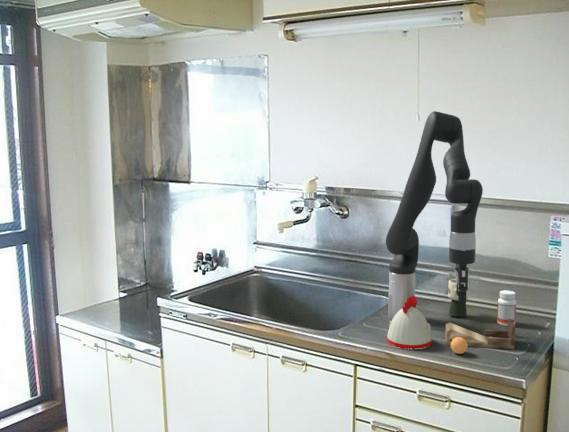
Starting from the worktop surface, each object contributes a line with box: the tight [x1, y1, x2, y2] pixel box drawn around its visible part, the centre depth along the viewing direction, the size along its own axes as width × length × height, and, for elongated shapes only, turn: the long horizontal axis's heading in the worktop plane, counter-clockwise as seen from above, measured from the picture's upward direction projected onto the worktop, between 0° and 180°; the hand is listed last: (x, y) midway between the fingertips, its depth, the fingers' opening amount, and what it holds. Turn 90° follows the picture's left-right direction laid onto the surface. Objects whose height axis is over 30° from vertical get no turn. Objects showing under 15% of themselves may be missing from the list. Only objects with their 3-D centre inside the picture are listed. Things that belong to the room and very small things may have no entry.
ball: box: [450, 337, 469, 355], centre depth 191 cm, size 5×5×5 cm
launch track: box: [445, 319, 516, 350], centre depth 200 cm, size 20×9×9 cm, turn 78°
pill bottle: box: [496, 289, 517, 327], centre depth 218 cm, size 6×6×11 cm
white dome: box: [386, 295, 432, 349], centre depth 200 cm, size 14×14×15 cm
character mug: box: [447, 278, 470, 318], centre depth 227 cm, size 11×7×13 cm, turn 151°
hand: (461, 299), depth 189 cm, fingers open, 8 cm apart
